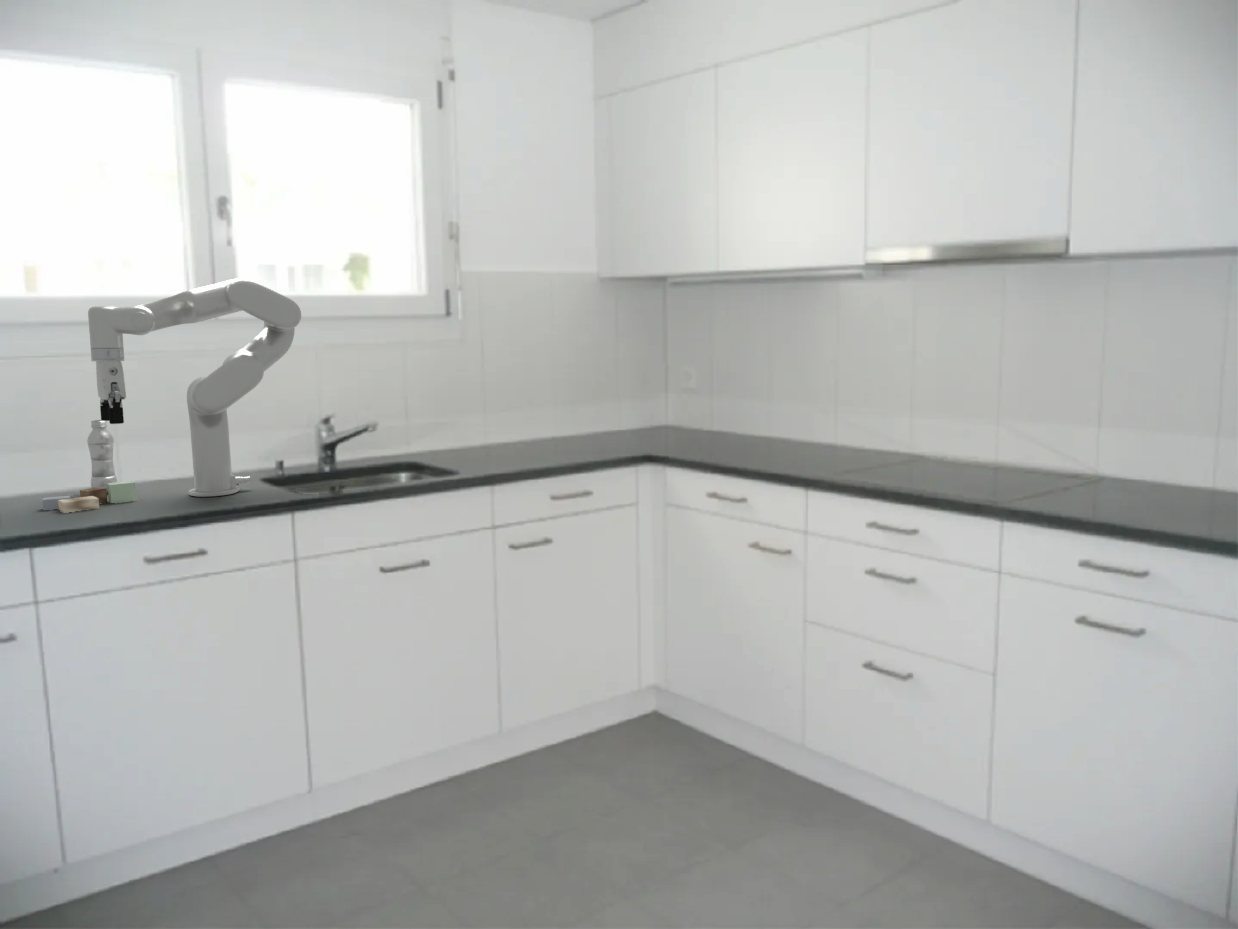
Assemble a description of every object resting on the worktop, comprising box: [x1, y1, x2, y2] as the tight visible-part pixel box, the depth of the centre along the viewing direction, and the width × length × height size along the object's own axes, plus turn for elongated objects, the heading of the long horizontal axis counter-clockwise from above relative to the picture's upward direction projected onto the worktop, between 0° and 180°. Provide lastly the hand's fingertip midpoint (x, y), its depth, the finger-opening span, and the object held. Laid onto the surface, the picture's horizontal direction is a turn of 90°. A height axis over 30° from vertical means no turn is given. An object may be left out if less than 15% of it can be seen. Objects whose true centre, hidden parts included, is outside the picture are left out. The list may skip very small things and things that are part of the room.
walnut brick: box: [79, 487, 109, 504], centre depth 258 cm, size 5×4×4 cm
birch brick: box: [58, 496, 100, 514], centre depth 250 cm, size 8×5×3 cm, turn 133°
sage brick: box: [107, 480, 138, 504], centre depth 261 cm, size 6×4×5 cm, turn 128°
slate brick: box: [42, 495, 71, 511], centre depth 252 cm, size 6×4×3 cm, turn 116°
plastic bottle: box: [86, 419, 118, 494], centre depth 272 cm, size 6×7×20 cm
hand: (112, 422), depth 257 cm, fingers open, 9 cm apart
